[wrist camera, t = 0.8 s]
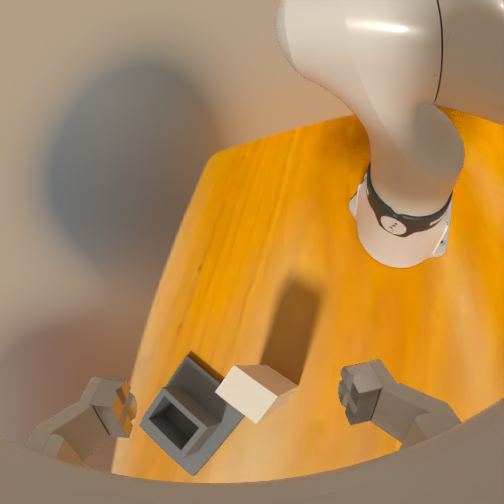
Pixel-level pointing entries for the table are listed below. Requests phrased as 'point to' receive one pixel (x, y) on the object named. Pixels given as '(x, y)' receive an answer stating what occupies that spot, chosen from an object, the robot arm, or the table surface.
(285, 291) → the table surface
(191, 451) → the socket holder
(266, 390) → the tall cream pillar block
